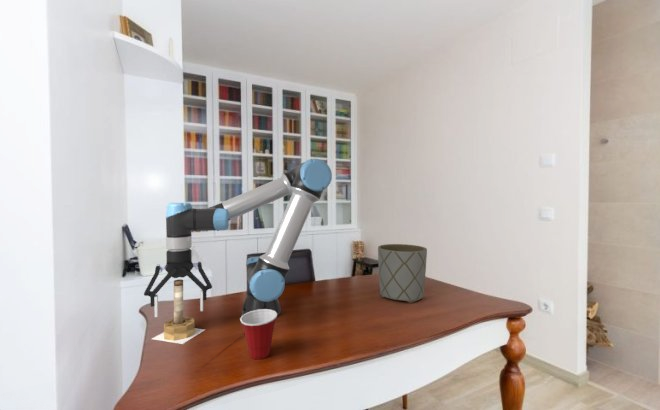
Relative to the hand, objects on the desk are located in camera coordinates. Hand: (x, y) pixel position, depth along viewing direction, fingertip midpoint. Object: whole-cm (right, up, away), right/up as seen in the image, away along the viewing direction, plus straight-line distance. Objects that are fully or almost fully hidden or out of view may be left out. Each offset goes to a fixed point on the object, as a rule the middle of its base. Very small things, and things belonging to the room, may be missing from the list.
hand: (179, 312), depth 105 cm
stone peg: (0, -7, 0) cm, 7 cm away
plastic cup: (+29, -9, -11) cm, 32 cm away
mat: (0, -8, 0) cm, 8 cm away
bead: (0, -7, 0) cm, 7 cm away
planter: (+84, -8, +46) cm, 96 cm away
